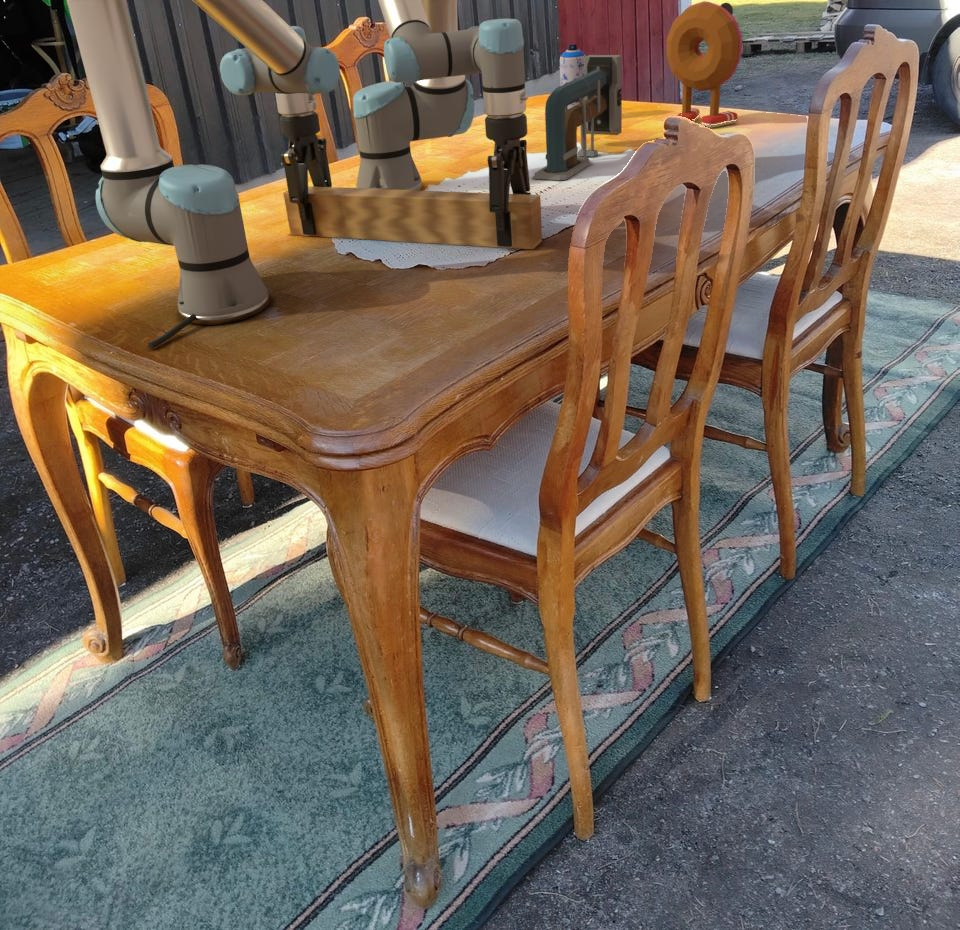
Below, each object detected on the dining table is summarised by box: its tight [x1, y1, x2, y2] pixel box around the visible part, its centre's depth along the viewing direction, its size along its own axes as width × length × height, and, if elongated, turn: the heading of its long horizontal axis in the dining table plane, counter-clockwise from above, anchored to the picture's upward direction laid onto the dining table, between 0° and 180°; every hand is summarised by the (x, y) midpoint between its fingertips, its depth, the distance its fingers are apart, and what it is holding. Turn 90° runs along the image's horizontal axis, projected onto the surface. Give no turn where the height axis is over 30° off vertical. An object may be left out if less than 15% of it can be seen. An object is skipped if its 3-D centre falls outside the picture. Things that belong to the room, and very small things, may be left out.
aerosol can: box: [559, 43, 587, 109], centre depth 273 cm, size 8×8×20 cm
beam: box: [282, 185, 543, 250], centre depth 191 cm, size 54×5×9 cm, turn 67°
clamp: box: [532, 54, 623, 181], centre depth 230 cm, size 35×9×21 cm, turn 151°
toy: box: [665, 0, 743, 129], centre depth 253 cm, size 21×10×30 cm, turn 47°
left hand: (317, 229), depth 201 cm, fingers closed on beam, 5 cm apart
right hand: (512, 238), depth 185 cm, fingers open, 8 cm apart
